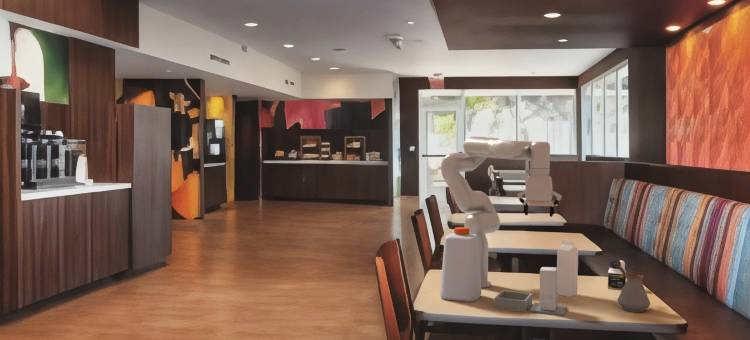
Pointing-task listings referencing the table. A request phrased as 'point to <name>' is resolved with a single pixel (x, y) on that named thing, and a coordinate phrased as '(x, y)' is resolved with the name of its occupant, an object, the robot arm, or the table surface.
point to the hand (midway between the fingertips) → (538, 215)
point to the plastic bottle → (461, 267)
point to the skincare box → (548, 288)
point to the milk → (567, 269)
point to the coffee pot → (633, 293)
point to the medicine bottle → (616, 275)
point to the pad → (559, 310)
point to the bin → (513, 301)
